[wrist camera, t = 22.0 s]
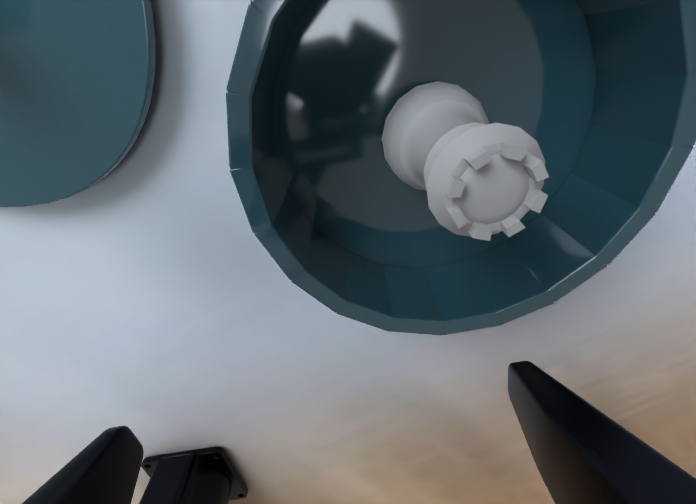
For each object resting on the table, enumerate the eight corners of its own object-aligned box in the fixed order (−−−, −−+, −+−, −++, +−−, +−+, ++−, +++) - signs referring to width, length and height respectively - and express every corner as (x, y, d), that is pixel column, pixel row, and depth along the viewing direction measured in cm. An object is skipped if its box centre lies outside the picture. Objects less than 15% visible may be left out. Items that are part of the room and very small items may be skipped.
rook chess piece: (499, 105, 16) (630, 145, 9) (449, 196, 18) (521, 290, 11) (407, 62, 15) (467, 68, 8) (364, 163, 17) (382, 241, 10)
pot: (585, 245, 20) (656, 300, 15) (308, 295, 21) (299, 359, 16) (636, -152, 12) (802, -269, 8) (202, -36, 13) (135, -81, 9)
